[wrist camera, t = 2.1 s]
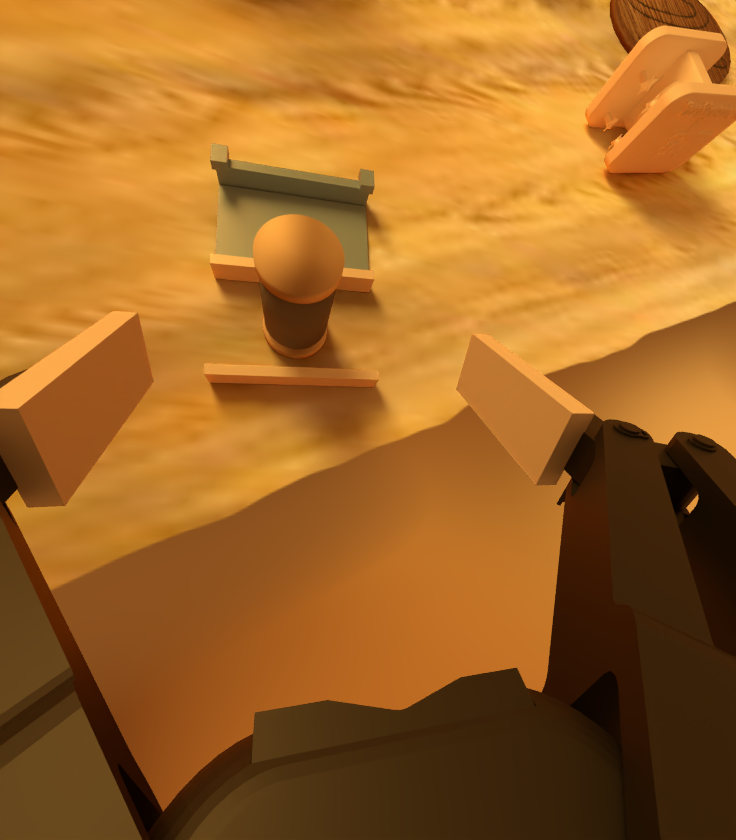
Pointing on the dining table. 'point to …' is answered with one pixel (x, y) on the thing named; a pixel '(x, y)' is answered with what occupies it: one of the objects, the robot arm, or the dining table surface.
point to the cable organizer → (664, 101)
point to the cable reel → (297, 282)
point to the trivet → (665, 24)
